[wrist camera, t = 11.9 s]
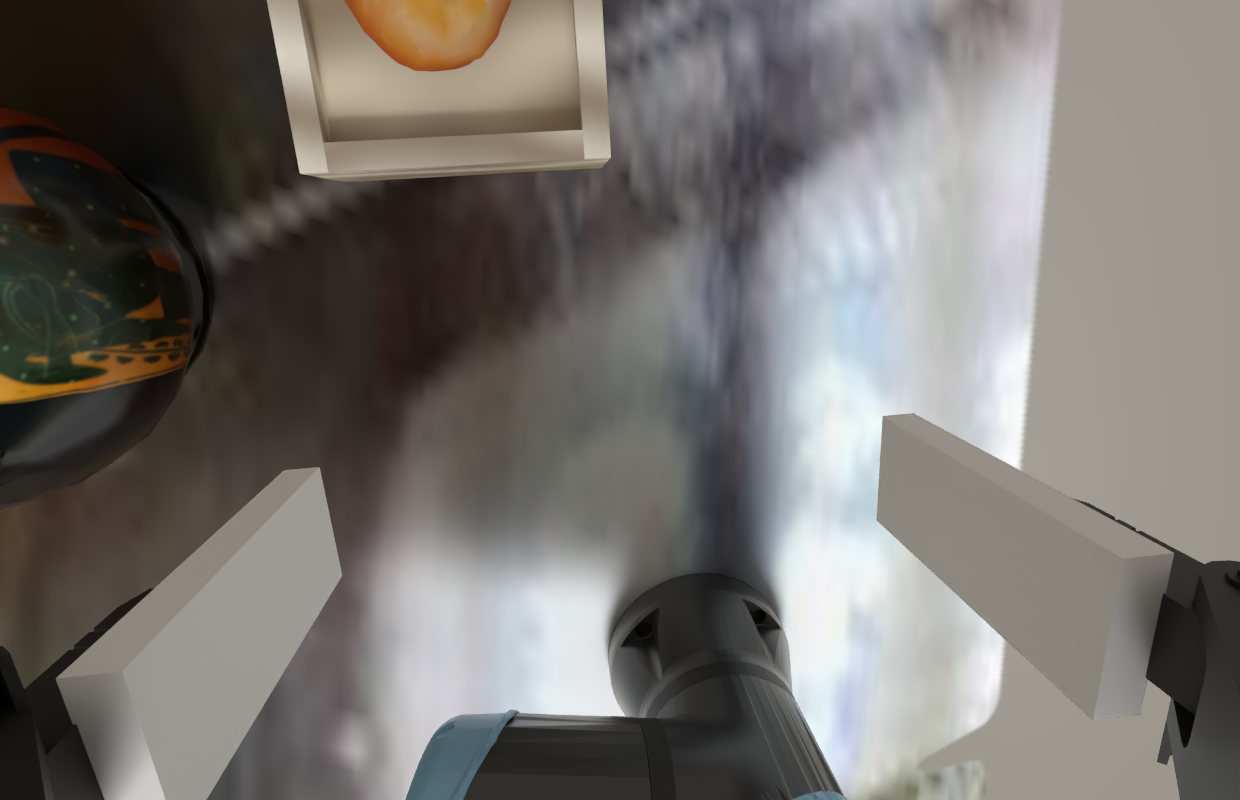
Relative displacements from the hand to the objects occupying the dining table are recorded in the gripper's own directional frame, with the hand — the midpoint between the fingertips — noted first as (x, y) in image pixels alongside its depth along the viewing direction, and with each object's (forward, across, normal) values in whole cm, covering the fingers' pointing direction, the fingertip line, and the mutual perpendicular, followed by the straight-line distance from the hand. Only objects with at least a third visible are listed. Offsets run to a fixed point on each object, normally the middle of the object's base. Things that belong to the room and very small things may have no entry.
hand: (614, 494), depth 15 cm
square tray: (+32, +6, -18) cm, 37 cm away
